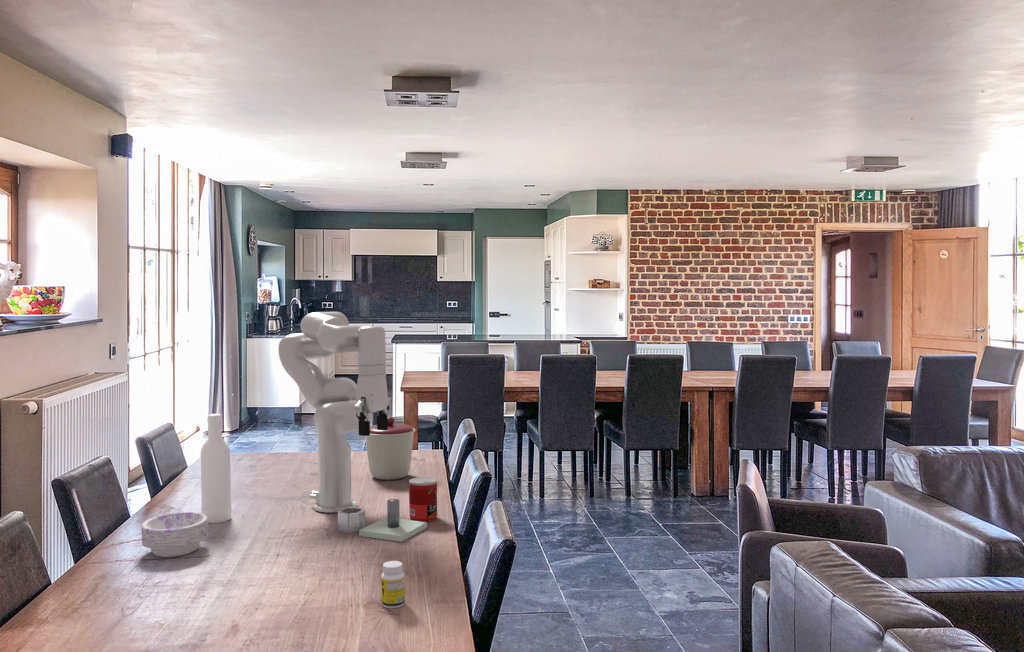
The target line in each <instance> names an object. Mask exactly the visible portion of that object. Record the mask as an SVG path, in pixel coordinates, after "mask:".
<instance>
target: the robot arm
mask: <svg viewBox="0 0 1024 652" xmlns="http://www.w3.org/2000/svg"><path fill="white" fill-rule="evenodd" d="M299 325H300V326H299V327H300V330H301V332H299V333H298V332H297V333H291V334H288V335H285V336H283V337H282V338H281V340H280V341H279V343H278V348H277V349H278V356H279V360H280V363H281V367H283V369H284V371H285V372H286V374H288V375H289V377H291V379H292V380H293V381H294V382H295V383H296V385H297V387H298V389H299V390H300V392H301V394H302V395H303V398H305V400H306V402H307V404H308V405H309V406H310V408H312V409H313V410H315V411H314V415H313V418H314V419H313V420H314V421H313V422H314V426H315V430H316V436H317V437H316V438H317V452H318V453H317V457H318V462H317V463H318V490H312V491H311V492H310V494H309V499H311V500H315V503H314V504H313V509H314V510H315V511H317V512H320V513H338V510H340V509H343V508H348V507H358V503H357V500H355V499H352V450H351V446H350V444H349V442H348V440H347V439H346V438H345V436H344V435H345V434H348V433H353V432H354V433H355V432H358V435H359V436H362V437H365V436H369V435H370V426H372V424H373V421H374V413H377V415H376V425H377V429H378V430H388V417H389V413H390V412H389V411H390V404H391V398H390V397H389V395H388V384H387V377H386V376H387V360H386V359H387V355H386V354H387V353H386V352H387V351H386V344H387V343H386V330H385V328H384V327H382V326H380V325H378V326H377V325H375V326H374V325H368V324H353V325H350V323H349V319H348V317H347V316H346V315H345V314H344V313H342V312H340V311H315V312H314V311H313V312H310V313H307V314H305V316H304V317H302V319H301V321H300V324H299ZM335 353H337V354H342V353H357V356H358V357H357V359H358V360H357V362H358V363H357V365H358V367H357V368H358V369H357V370H358V377H357V383H356V382H355V381H354V380H352V379H351V378H349V377H334V378H333V377H331V378H330V377H327V376H325V374H324V373H323V371H322V370H321V368H319V366H318V365H316V364H315V363H313V362H312V361H310V360H318V359H327V358H330V357H332V356H333V355H334V354H335Z"/></svg>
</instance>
